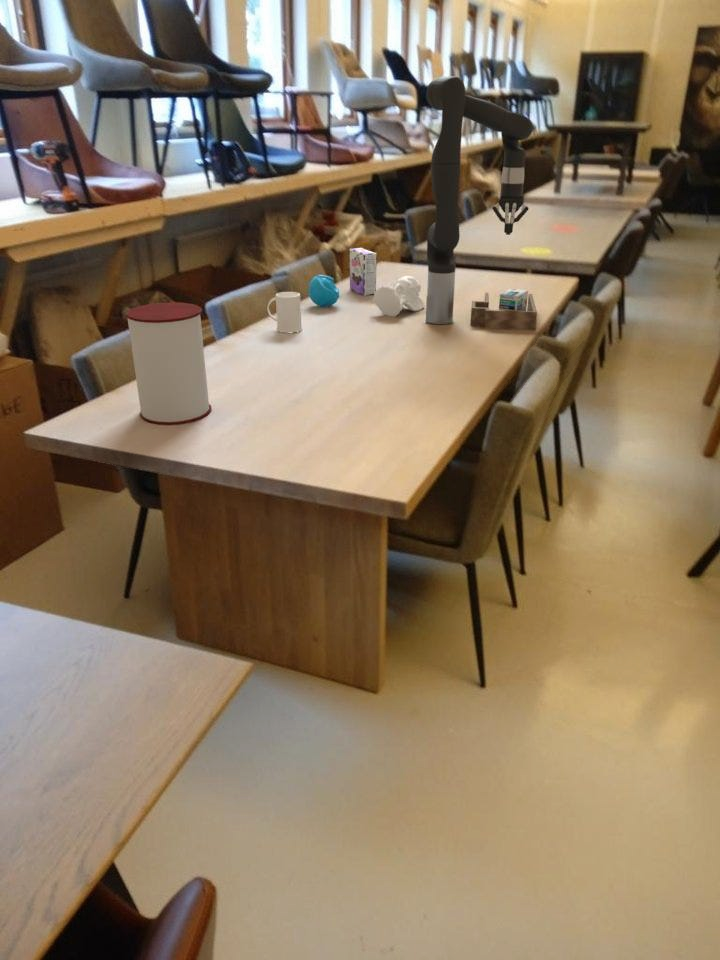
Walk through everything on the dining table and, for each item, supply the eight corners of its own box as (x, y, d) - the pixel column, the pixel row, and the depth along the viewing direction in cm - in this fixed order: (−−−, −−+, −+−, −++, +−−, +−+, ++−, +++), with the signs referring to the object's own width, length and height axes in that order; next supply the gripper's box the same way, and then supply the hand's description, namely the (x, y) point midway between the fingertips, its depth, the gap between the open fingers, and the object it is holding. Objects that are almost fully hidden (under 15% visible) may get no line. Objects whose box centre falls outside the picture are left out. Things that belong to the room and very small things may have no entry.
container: (216, 399, 192) (207, 301, 181) (206, 424, 177) (195, 319, 165) (148, 400, 191) (135, 302, 180) (132, 425, 176) (116, 320, 165)
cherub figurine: (367, 285, 266) (397, 269, 280) (370, 318, 273) (399, 302, 286) (398, 288, 259) (427, 272, 273) (401, 322, 266) (429, 305, 279)
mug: (263, 331, 250) (261, 295, 245) (275, 324, 257) (273, 289, 252) (295, 334, 246) (293, 298, 241) (306, 328, 254) (305, 292, 248)
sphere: (338, 310, 276) (338, 278, 270) (307, 310, 276) (306, 278, 271) (340, 302, 286) (339, 271, 281) (310, 302, 287) (309, 271, 281)
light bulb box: (515, 327, 253) (518, 296, 249) (496, 325, 256) (499, 293, 252) (525, 320, 262) (528, 289, 257) (507, 318, 265) (510, 287, 260)
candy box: (349, 289, 307) (348, 248, 300) (362, 288, 309) (362, 247, 302) (363, 296, 296) (363, 253, 289) (376, 295, 298) (377, 252, 291)
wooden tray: (470, 327, 253) (471, 310, 251) (471, 308, 278) (472, 292, 275) (535, 330, 251) (537, 312, 248) (530, 310, 275) (532, 294, 272)
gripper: (493, 182, 252) (489, 235, 260) (532, 182, 250) (527, 236, 258) (492, 180, 259) (488, 232, 266) (531, 180, 257) (526, 233, 265)
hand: (508, 234), depth 262 cm, fingers closed
